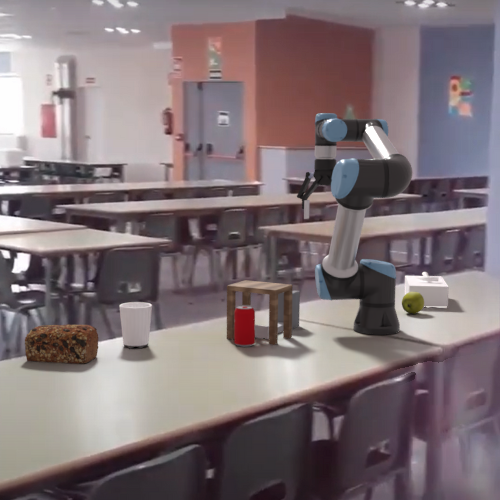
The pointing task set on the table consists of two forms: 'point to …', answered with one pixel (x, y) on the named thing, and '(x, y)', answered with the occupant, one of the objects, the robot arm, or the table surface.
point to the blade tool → (281, 315)
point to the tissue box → (428, 289)
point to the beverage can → (244, 326)
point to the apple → (413, 302)
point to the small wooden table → (273, 292)
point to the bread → (62, 343)
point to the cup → (135, 323)
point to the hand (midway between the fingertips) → (324, 219)
